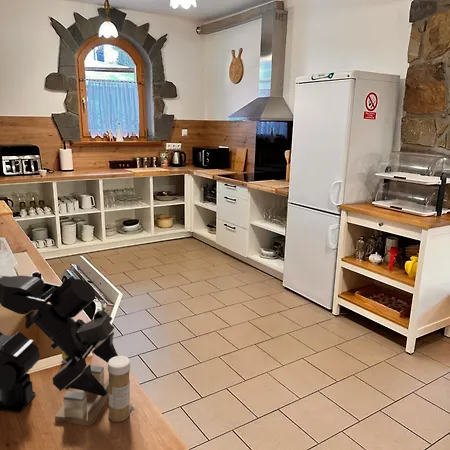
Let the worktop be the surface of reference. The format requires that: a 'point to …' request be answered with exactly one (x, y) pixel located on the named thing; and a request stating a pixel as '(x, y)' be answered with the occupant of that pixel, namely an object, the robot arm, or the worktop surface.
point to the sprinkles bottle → (119, 388)
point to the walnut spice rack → (83, 402)
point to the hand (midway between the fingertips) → (113, 380)
